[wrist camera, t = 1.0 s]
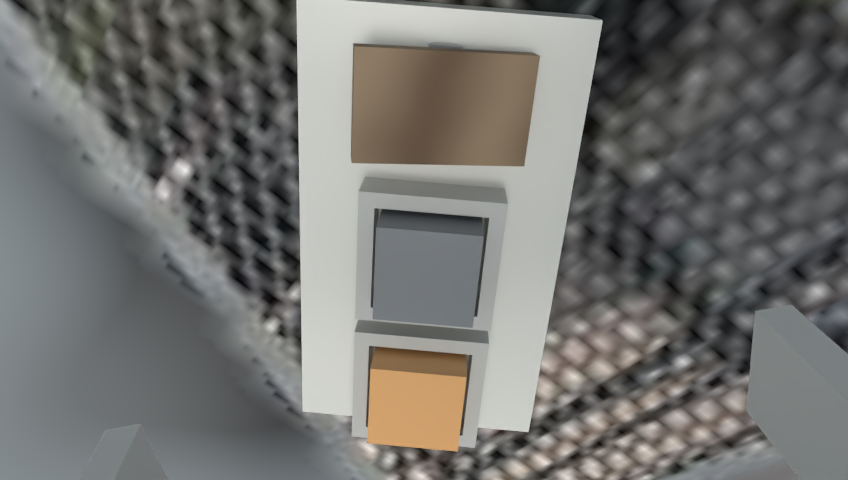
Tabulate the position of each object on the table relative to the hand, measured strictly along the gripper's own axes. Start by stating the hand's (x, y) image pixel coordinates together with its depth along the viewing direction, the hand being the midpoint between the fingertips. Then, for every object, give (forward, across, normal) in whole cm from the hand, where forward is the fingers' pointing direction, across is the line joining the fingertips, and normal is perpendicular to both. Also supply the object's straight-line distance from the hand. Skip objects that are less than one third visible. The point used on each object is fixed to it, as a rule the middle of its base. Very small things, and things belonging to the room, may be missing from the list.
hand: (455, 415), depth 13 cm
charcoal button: (+18, 0, +6) cm, 19 cm away
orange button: (+18, +2, +13) cm, 22 cm away
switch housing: (+22, 0, +6) cm, 23 cm away
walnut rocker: (+17, -2, -2) cm, 18 cm away
